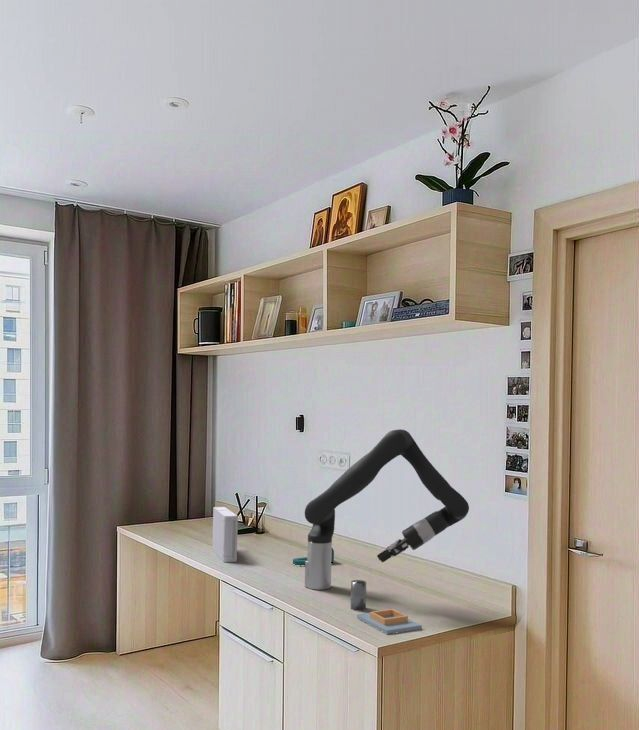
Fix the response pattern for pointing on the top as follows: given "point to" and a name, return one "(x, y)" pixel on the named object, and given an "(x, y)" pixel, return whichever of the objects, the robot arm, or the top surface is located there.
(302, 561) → the bracket
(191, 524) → the top surface
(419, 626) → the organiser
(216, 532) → the game console
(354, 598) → the grey capped cylinder
